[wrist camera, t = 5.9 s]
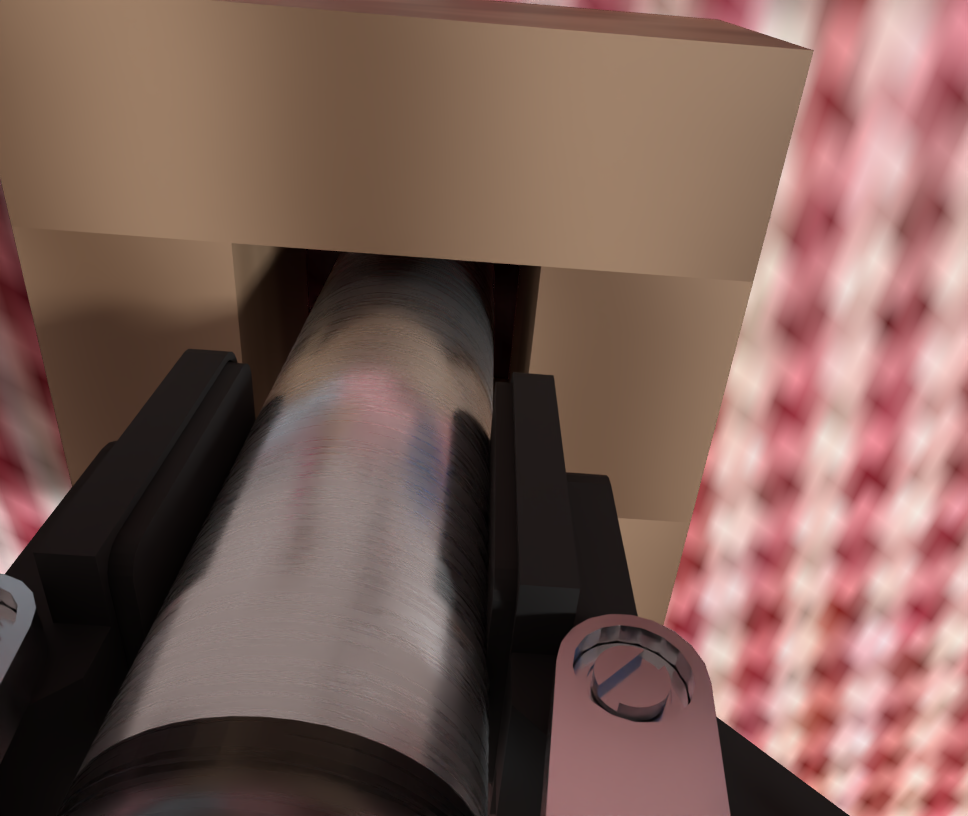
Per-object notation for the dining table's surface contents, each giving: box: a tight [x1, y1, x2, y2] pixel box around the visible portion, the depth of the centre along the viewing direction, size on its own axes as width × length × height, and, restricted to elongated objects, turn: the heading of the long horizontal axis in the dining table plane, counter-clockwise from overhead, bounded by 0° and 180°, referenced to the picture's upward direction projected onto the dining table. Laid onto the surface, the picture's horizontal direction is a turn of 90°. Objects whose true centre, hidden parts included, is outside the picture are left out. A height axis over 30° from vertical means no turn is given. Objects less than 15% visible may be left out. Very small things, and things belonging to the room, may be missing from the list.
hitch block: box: [0, 0, 814, 625], centre depth 15 cm, size 11×11×5 cm
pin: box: [56, 251, 494, 816], centre depth 11 cm, size 3×3×14 cm
